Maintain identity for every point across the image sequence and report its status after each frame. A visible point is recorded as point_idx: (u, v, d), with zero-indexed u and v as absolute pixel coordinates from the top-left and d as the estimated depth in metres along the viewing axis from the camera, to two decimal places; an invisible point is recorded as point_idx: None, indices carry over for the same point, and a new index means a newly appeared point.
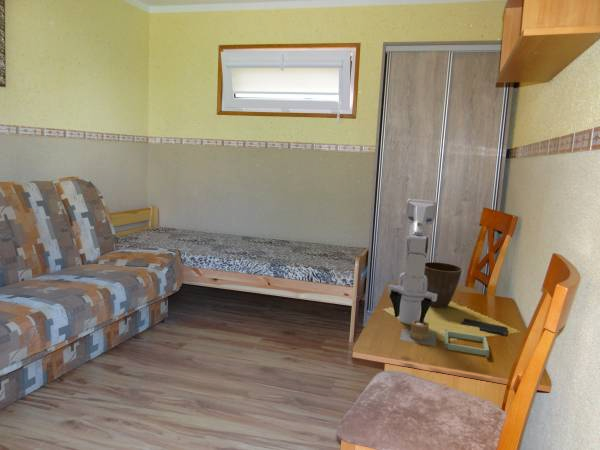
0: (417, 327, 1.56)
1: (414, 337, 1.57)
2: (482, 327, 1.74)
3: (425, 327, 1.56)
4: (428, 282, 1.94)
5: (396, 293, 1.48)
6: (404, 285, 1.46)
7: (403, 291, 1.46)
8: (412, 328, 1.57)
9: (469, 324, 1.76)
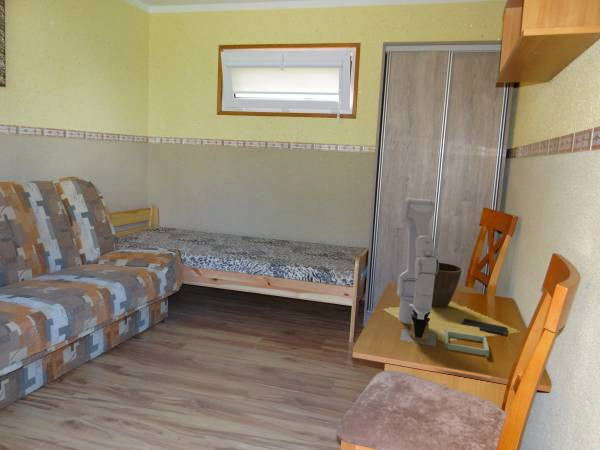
0: None
1: (414, 337, 1.57)
2: (482, 327, 1.74)
3: (425, 327, 1.56)
4: None
5: None
6: None
7: None
8: (412, 328, 1.57)
9: (469, 324, 1.76)
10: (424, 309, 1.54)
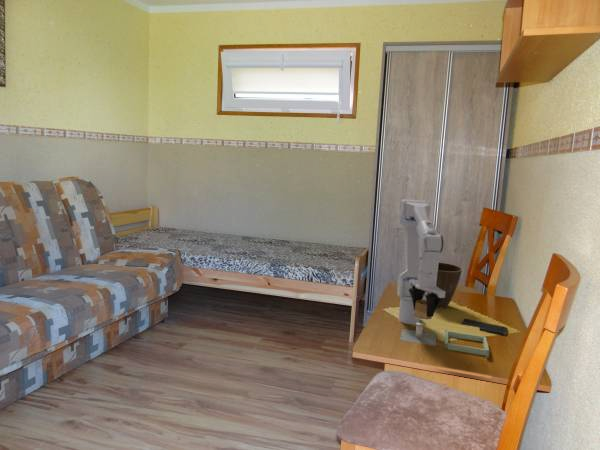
0: None
1: (425, 317, 1.55)
2: (482, 327, 1.74)
3: None
4: None
5: (414, 287, 1.60)
6: (417, 280, 1.56)
7: (416, 285, 1.56)
8: (422, 309, 1.55)
9: (469, 324, 1.76)
10: (434, 287, 1.54)
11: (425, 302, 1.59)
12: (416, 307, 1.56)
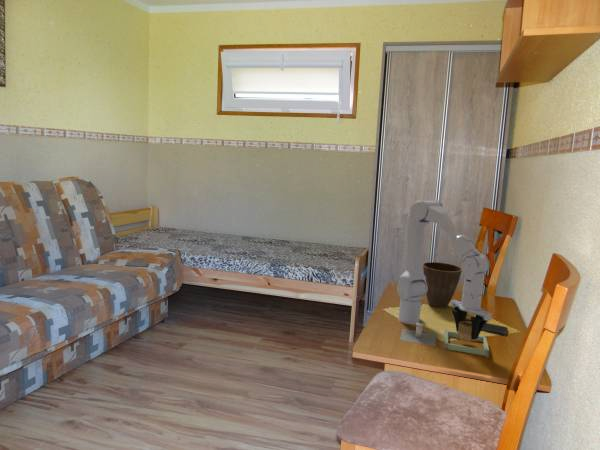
0: None
1: (469, 339, 1.52)
2: None
3: None
4: (428, 282, 1.94)
5: (456, 308, 1.57)
6: (461, 301, 1.54)
7: (460, 306, 1.54)
8: (466, 331, 1.52)
9: None
10: (479, 309, 1.51)
11: (468, 323, 1.56)
12: (459, 329, 1.53)
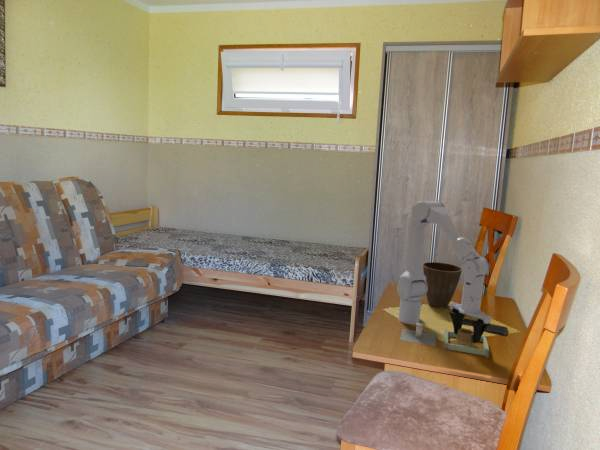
0: (472, 336, 1.52)
1: None
2: None
3: None
4: (428, 282, 1.94)
5: (456, 311, 1.57)
6: (461, 304, 1.54)
7: (459, 309, 1.54)
8: (465, 338, 1.52)
9: (469, 324, 1.76)
10: (479, 312, 1.51)
11: (467, 331, 1.56)
12: (459, 336, 1.54)
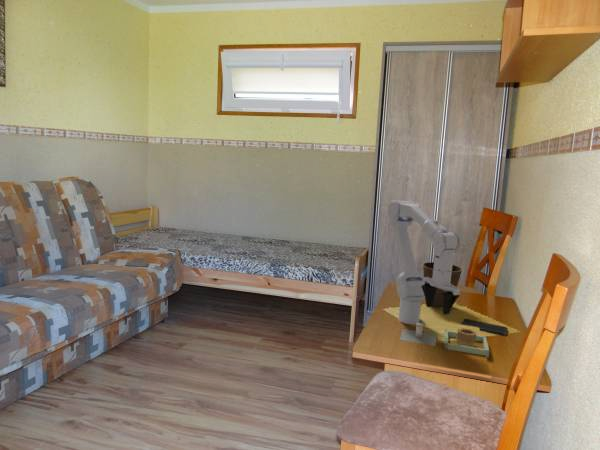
0: (472, 336, 1.52)
1: None
2: (482, 327, 1.74)
3: None
4: None
5: (428, 285, 1.62)
6: (432, 277, 1.59)
7: (430, 282, 1.59)
8: (465, 338, 1.52)
9: (469, 324, 1.76)
10: (449, 284, 1.57)
11: (467, 331, 1.56)
12: (459, 336, 1.54)
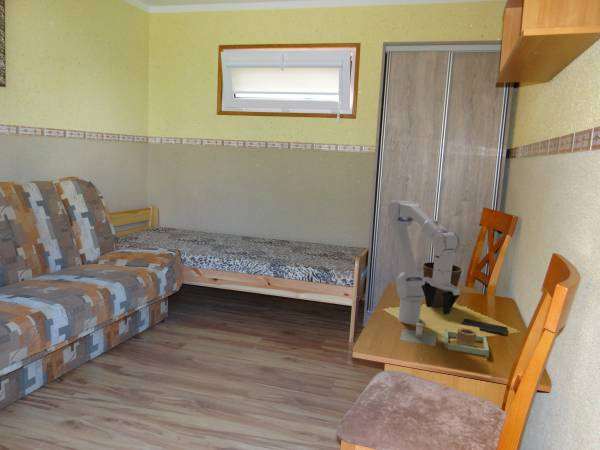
0: (472, 336, 1.52)
1: None
2: (482, 327, 1.74)
3: None
4: None
5: (428, 285, 1.62)
6: (432, 277, 1.59)
7: (430, 282, 1.59)
8: (465, 338, 1.52)
9: (469, 324, 1.76)
10: (449, 284, 1.57)
11: (467, 331, 1.56)
12: (459, 336, 1.54)
